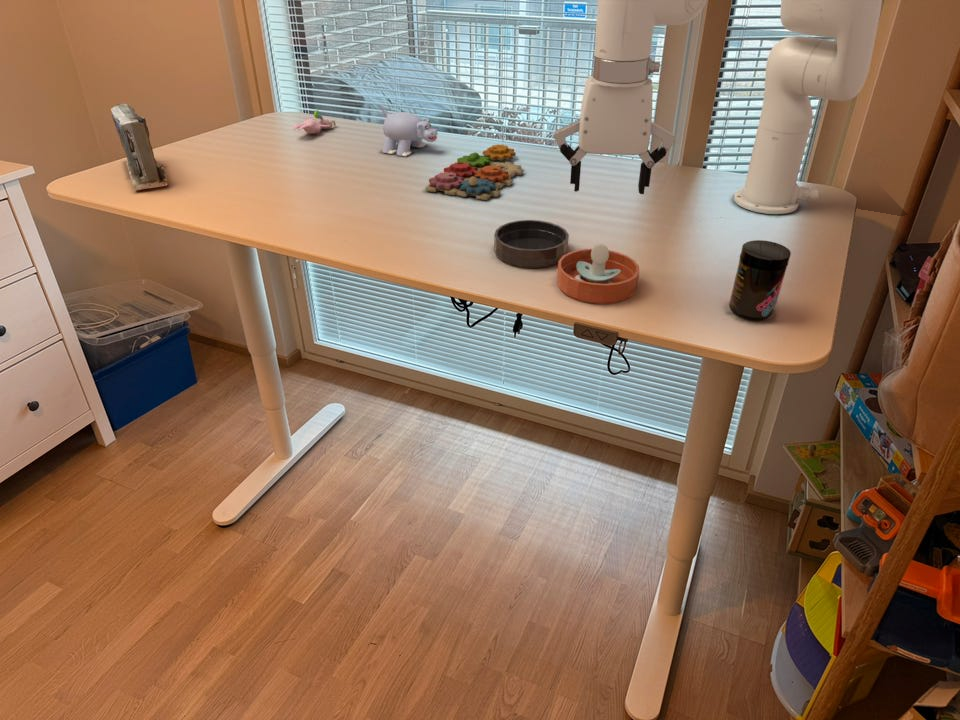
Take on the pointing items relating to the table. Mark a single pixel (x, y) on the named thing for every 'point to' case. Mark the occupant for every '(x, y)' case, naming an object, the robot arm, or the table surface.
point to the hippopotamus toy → (405, 132)
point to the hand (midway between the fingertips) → (608, 189)
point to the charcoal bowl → (530, 243)
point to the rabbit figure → (314, 124)
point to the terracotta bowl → (597, 292)
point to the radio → (137, 148)
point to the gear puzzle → (477, 174)
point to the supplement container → (758, 279)
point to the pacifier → (597, 267)
